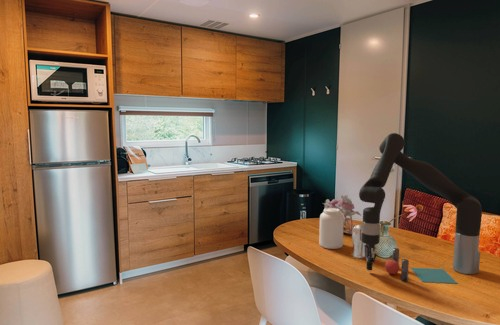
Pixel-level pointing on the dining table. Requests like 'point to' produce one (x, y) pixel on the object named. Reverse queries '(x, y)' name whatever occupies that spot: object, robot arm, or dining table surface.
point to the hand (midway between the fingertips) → (369, 269)
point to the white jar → (331, 229)
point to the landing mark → (433, 275)
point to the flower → (343, 209)
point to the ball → (392, 267)
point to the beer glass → (358, 242)
